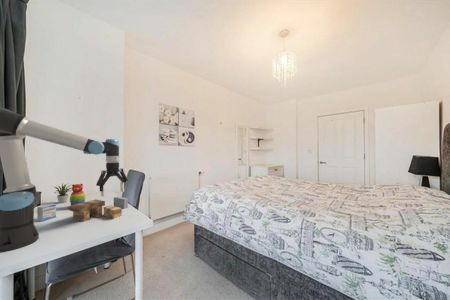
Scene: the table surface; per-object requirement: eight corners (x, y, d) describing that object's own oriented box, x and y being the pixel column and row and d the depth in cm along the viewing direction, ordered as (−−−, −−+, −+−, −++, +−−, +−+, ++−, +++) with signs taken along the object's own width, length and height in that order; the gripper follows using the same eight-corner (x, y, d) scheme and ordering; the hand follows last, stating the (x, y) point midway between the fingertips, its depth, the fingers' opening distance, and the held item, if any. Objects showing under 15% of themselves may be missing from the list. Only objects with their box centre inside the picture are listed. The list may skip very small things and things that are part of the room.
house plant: (58, 206, 146) (58, 185, 146) (45, 204, 149) (45, 184, 149) (77, 201, 160) (77, 182, 160) (64, 200, 163) (64, 181, 163)
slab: (78, 212, 114) (78, 207, 114) (69, 210, 118) (69, 205, 118) (104, 205, 129) (104, 201, 129) (95, 203, 133) (95, 199, 133)
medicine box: (42, 221, 116) (42, 207, 115) (37, 221, 116) (36, 207, 116) (56, 217, 123) (56, 203, 123) (51, 216, 124) (51, 203, 124)
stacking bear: (66, 210, 137) (66, 185, 137) (71, 206, 146) (71, 183, 146) (84, 208, 141) (84, 184, 141) (87, 204, 150) (87, 182, 150)
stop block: (124, 208, 141) (124, 199, 141) (113, 206, 146) (113, 197, 146) (127, 207, 144) (127, 198, 144) (117, 205, 149) (117, 196, 149)
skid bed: (84, 221, 116) (84, 211, 116) (73, 218, 121) (73, 209, 121) (102, 215, 126) (102, 206, 126) (91, 213, 131) (91, 204, 131)
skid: (121, 216, 125) (121, 208, 125) (114, 219, 120) (114, 210, 120) (111, 213, 131) (111, 205, 131) (103, 215, 126) (103, 207, 126)
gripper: (96, 163, 112) (97, 199, 113) (132, 161, 135) (133, 190, 135) (89, 163, 115) (89, 197, 116) (125, 160, 138) (125, 189, 138)
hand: (113, 193), depth 126 cm, fingers open, 13 cm apart
